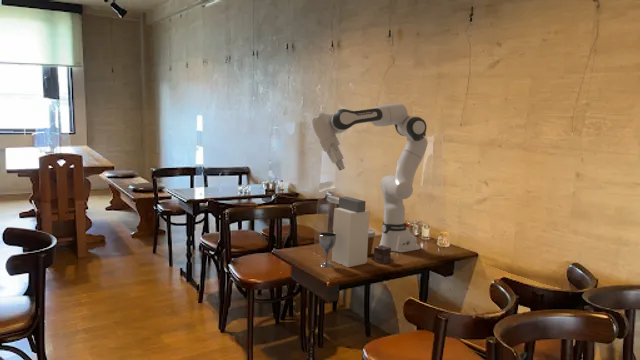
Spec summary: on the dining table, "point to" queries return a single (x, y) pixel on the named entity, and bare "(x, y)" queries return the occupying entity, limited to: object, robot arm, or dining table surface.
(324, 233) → the wine glass
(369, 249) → the disposable coffee cup
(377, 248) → the box
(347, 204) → the stand
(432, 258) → the dining table surface
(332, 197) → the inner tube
